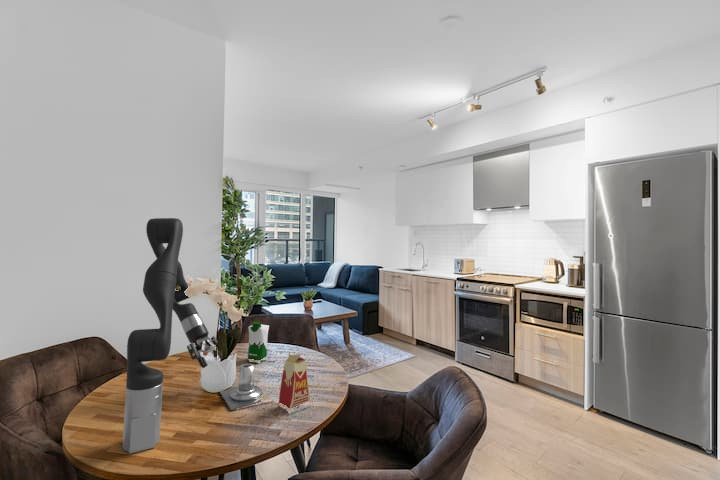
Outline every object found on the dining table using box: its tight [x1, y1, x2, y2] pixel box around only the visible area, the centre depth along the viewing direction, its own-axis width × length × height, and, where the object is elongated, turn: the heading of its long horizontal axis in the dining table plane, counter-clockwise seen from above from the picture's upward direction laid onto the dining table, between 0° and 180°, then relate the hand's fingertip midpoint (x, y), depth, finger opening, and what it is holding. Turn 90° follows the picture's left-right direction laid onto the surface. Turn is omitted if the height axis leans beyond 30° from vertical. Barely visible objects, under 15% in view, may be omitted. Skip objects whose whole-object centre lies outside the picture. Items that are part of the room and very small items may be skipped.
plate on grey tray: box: [219, 386, 262, 411], centre depth 133 cm, size 18×16×2 cm
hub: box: [237, 363, 255, 396], centre depth 133 cm, size 7×7×10 cm
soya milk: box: [247, 321, 270, 360], centre depth 175 cm, size 9×9×20 cm
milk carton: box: [278, 353, 311, 409], centre depth 127 cm, size 9×9×20 cm
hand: (212, 363), depth 134 cm, fingers open, 8 cm apart
